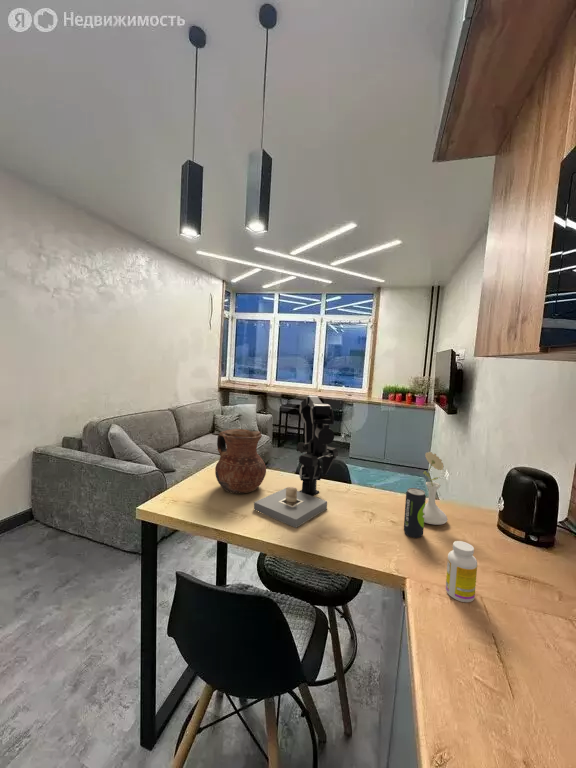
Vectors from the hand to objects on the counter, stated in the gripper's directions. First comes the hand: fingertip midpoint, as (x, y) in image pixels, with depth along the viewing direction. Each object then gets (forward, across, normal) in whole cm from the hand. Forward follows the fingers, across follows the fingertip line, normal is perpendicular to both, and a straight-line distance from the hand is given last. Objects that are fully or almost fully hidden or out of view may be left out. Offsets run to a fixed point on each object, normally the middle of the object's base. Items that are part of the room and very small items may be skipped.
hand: (318, 477), depth 129 cm
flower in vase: (+13, -23, +35) cm, 44 cm away
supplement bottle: (+13, +14, +53) cm, 56 cm away
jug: (+13, +5, -37) cm, 40 cm away
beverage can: (+13, -8, +34) cm, 37 cm away
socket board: (+13, +6, -8) cm, 16 cm away
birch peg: (+13, +6, -8) cm, 16 cm away
